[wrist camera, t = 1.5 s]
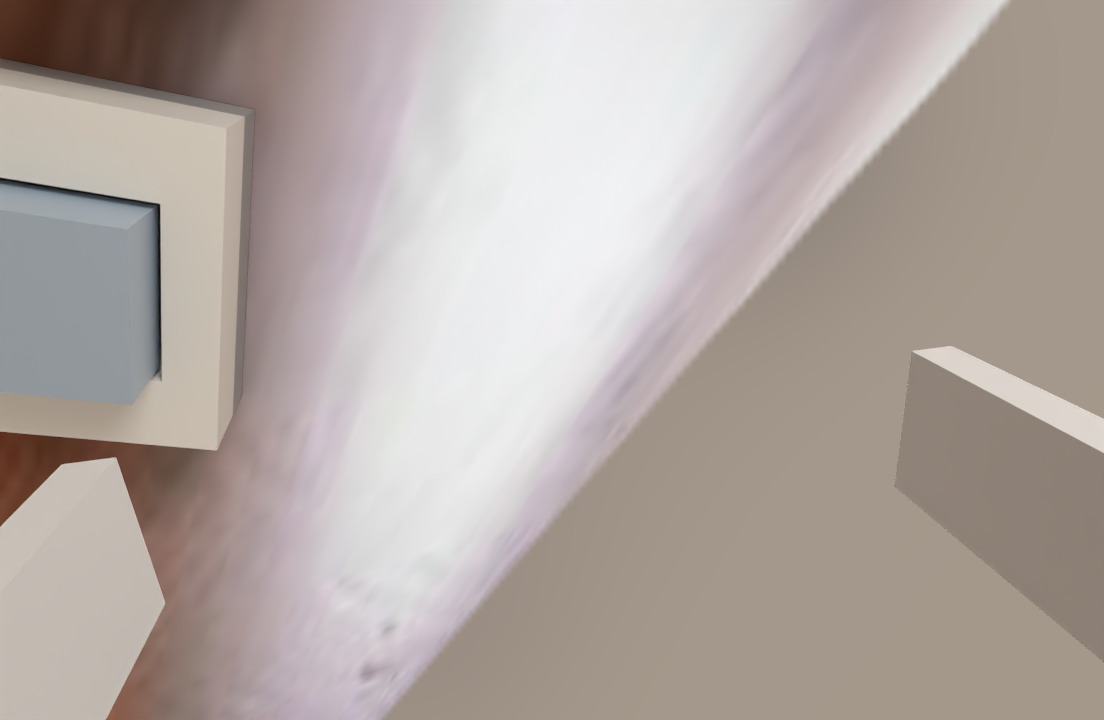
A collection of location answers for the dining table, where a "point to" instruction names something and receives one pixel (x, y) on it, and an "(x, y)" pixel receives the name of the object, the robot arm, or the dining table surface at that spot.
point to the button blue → (77, 294)
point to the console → (183, 239)
